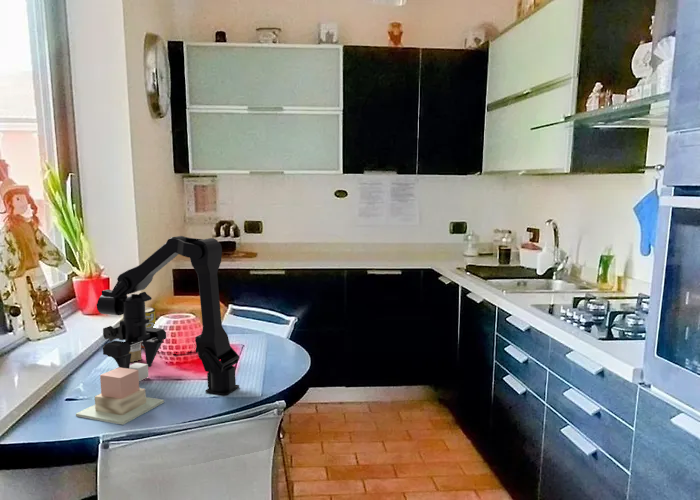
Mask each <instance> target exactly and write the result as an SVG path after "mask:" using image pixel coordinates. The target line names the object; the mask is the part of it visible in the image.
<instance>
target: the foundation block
mask: <svg viewBox="0 0 700 500" xmlns="http://www.w3.org/2000/svg"><path fill="white" fill-rule="evenodd" d="M146 397H147V395H146V388H141V387H139V390H138V391H136V392H134V393H132V394H130V395H128V396H126V397H124V398H122V399H120V398H114V397H108V396H102V395H101V393H99V394H97V395H95V396H94V405H95V410H96V411H101V412H106V413H112V414H118V415H124V414H126V413H127V412H129V411H131V410H133V409H135V408H137V407H139V406H141V405H143V404H145V403H146Z"/></svg>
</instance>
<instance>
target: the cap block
mask: <svg viewBox="0 0 700 500" xmlns="http://www.w3.org/2000/svg"><path fill="white" fill-rule="evenodd" d="M129 369H135V370H138V374H139V381H141V380H143V379H145V378H147V377H149V367H148V364H147V363H141V362H133V363H132V364H130V367H129ZM147 379H148V378H147ZM145 380H146V379H145ZM143 381H144V380H143ZM141 382H142V381H141Z"/></svg>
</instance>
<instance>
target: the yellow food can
mask: <svg viewBox="0 0 700 500" xmlns="http://www.w3.org/2000/svg"><path fill="white" fill-rule="evenodd" d="M145 314H146V319H149V323H146V329H149V328H153V326H154V324H155V322H156V309H155V308H154V307H152V306H151V307H150V306H149V307H148V306H145ZM142 349H144V350H145V347H144V346H143V344H142V343H141V350H142Z"/></svg>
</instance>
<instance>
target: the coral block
mask: <svg viewBox="0 0 700 500" xmlns="http://www.w3.org/2000/svg"><path fill="white" fill-rule="evenodd" d="M99 376H100V377H99V379H100V394H101V395H102V396H108V397H114V398H120V399H122V398H124V397H126V396H128V395H130V394H132V393H134V392H136V391H138V390H139V388H140V382H139V374H138V370H135V369H128V368H121V367H119V366H118V367H115V368H114V369H112V370H109V371H107V372H104V373H101V374H100V375H99Z"/></svg>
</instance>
